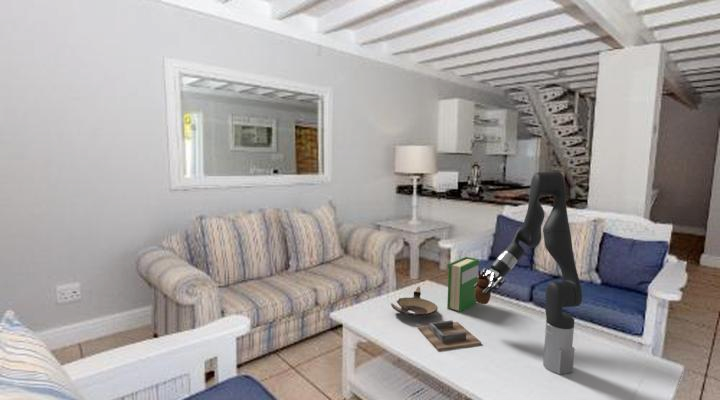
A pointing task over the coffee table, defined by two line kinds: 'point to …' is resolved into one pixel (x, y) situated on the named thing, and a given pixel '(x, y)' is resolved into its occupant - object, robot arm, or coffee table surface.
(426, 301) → the oil lamp
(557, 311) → the robot arm
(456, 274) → the hardback book
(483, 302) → the wooden figurine
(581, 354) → the coffee table surface
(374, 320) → the coffee table surface
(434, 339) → the keeper cradle
